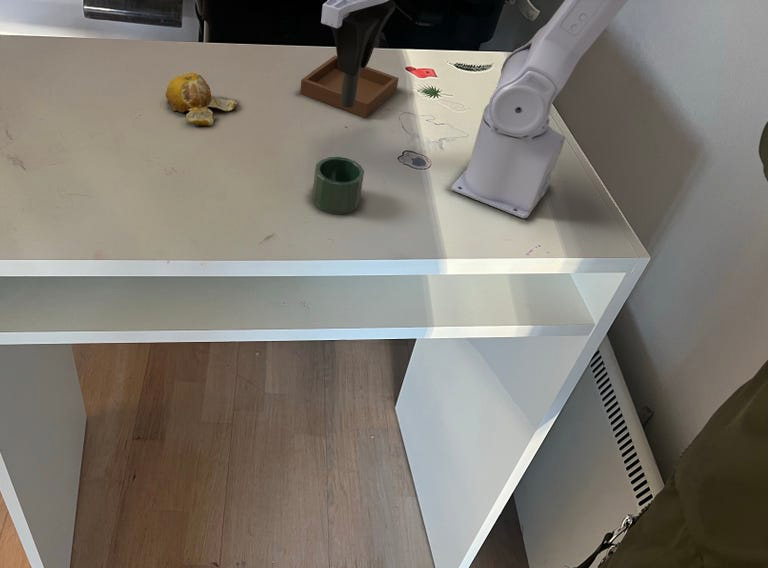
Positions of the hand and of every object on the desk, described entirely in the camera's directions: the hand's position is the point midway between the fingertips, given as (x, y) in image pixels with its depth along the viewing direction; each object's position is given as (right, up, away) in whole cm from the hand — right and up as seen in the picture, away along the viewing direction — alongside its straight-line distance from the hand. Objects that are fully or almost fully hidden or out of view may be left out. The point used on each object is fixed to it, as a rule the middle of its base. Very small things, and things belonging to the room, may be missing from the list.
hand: (352, 68), depth 86 cm
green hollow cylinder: (-2, -15, 0) cm, 15 cm away
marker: (0, -3, +3) cm, 4 cm away
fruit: (-19, -1, +11) cm, 22 cm away
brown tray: (+1, +3, +17) cm, 18 cm away
